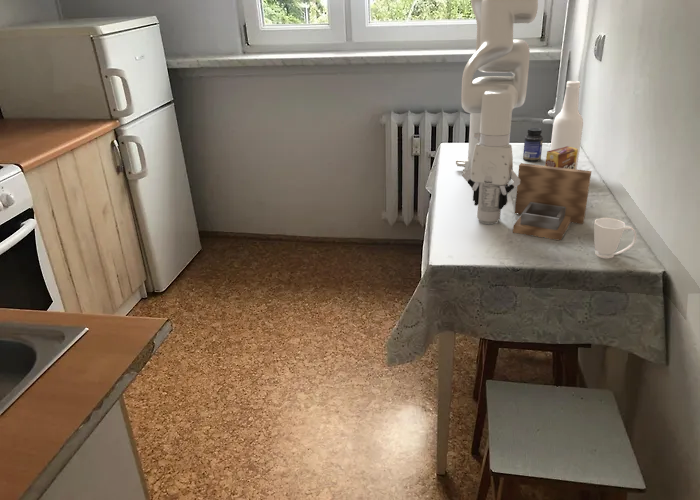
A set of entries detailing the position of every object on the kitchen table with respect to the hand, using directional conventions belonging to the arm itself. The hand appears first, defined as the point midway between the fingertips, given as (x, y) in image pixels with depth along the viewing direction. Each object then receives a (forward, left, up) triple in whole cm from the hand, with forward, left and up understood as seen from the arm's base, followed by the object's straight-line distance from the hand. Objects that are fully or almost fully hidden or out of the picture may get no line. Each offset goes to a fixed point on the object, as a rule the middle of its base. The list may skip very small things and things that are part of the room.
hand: (489, 204), depth 156 cm
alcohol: (+10, +47, -5) cm, 48 cm away
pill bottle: (-3, +61, -5) cm, 61 cm away
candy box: (+13, +23, -5) cm, 27 cm away
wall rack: (+14, +3, -5) cm, 15 cm away
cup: (+32, -8, -5) cm, 33 cm away
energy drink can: (0, 0, -5) cm, 5 cm away
